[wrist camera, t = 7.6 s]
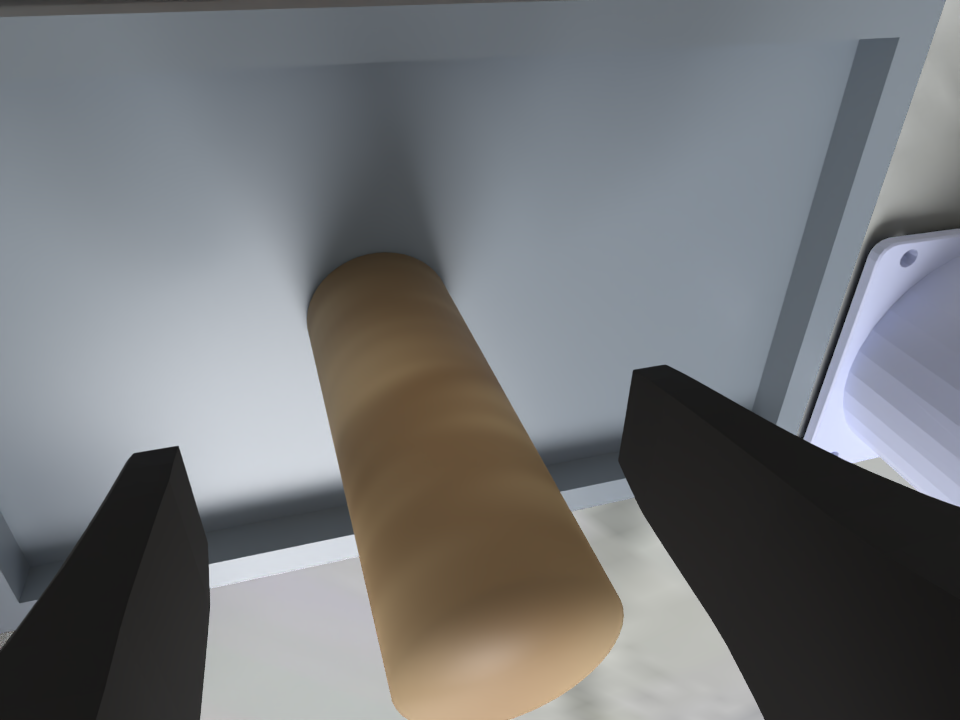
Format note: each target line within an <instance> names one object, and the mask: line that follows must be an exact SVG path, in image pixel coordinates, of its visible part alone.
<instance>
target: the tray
mask: <svg viewBox="0 0 960 720" xmlns="http://www.w3.org/2000/svg"><path fill="white" fill-rule="evenodd" d="M945 1H946V0H0V634H1V633H5V632H10V631H15V630H16V629H17V627H18V626H19V625H20V623H21V622H22V621H23V619H24V618H25V617H26V615H27V614H28V612H29V611H30V610H31V608H32V607H33V606H34V604H35V603H36V602H37V600H38V599H39V598H40V596H41V595H42V593H43V592H44V591H45V589H46V588H47V587H48V585H49V584H50V582H51V581H52V580H53V578H54V577H55V575H56V574H57V572H58V571H59V569H60V568H61V566H62V565H63V563H64V562H65V560H66V559H67V557H68V556H69V554H70V553H71V551H72V550H73V548H74V547H75V545H76V543H77V542H78V540H79V539H80V537H81V536H82V534H83V533H84V531H85V530H86V528H87V527H88V525H89V523H90V522H91V520H92V519H93V517H94V515H95V514H96V512H97V510H98V509H99V507H100V506H101V504H102V502H103V501H104V499H105V497H106V496H107V494H108V492H109V491H110V489H111V487H112V485H113V484H114V482H115V480H116V479H117V477H118V475H119V473H120V472H121V470H122V468H123V467H124V465H125V463H126V461H127V460H128V459H129V458H130V457H131V455H132V454H133V453H137V452H143V451H149V450H155V449H161V448H167V447H173V446H179V448H180V452H181V455H182V458H183V462H184V465H185V468H186V472H187V475H188V478H189V482H190V485H191V488H192V492H193V495H194V498H195V502H196V505H197V508H198V512H199V515H200V518H201V522H202V525H203V528H204V532H205V535H206V538H207V542H208V558H209V586H210V589H211V588H215V587H220V586H225V585H229V584H234V583H239V582H243V581H248V580H253V579H257V578H262V577H267V576H271V575H276V574H281V573H285V572H290V571H295V570H299V569H304V568H309V567H313V566H318V565H323V564H327V563H332V562H337V561H341V560H346V559H351V558H355V557H359V553H358V549H357V544H356V540H355V536H354V531H353V527H352V522H351V518H350V514H349V509H348V505H347V500H346V496H345V492H344V487H343V483H342V479H341V474H340V470H339V465H338V461H337V457H336V452H335V448H334V443H333V439H332V435H331V430H330V426H329V421H328V417H327V413H326V408H325V404H324V400H323V395H322V391H321V386H320V382H319V378H318V373H317V369H316V364H315V360H314V356H313V351H312V347H311V342H310V338H309V334H308V329H307V313H308V308H309V304H310V301H311V299H312V297H313V294H314V293H315V291H316V289H317V288H318V286H319V285H320V284H321V282H322V281H323V280H324V279H325V278H326V277H327V276H328V275H329V274H330V273H331V272H332V271H334V270H335V269H336V268H338V267H339V266H341V265H342V264H344V263H346V262H348V261H350V260H352V259H355V258H357V257H360V256H364V255H367V254H373V253H383V252H389V253H399V254H405V255H408V256H411V257H414V258H416V259H418V260H420V261H422V262H424V263H425V264H427V265H428V266H429V267H430V268H432V269H433V270H434V271H435V272H436V273H437V275H438V276H439V277H440V278H441V280H442V282H443V283H444V285H445V287H446V289H447V290H448V292H449V294H450V296H451V298H452V299H453V301H454V303H455V305H456V306H457V308H458V310H459V312H460V314H461V315H462V317H463V319H464V321H465V323H466V324H467V326H468V328H469V330H470V332H471V333H472V335H473V337H474V339H475V340H476V342H477V344H478V346H479V348H480V349H481V351H482V353H483V355H484V357H485V358H486V360H487V362H488V364H489V366H490V367H491V369H492V371H493V373H494V374H495V376H496V378H497V380H498V382H499V383H500V385H501V387H502V389H503V391H504V392H505V394H506V396H507V398H508V399H509V401H510V403H511V405H512V407H513V408H514V410H515V412H516V414H517V416H518V417H519V419H520V421H521V423H522V425H523V426H524V428H525V430H526V432H527V433H528V435H529V437H530V439H531V441H532V442H533V444H534V446H535V448H536V450H537V451H538V453H539V455H540V457H541V459H542V460H543V462H544V464H545V466H546V467H547V469H548V471H549V473H550V475H551V476H552V478H553V480H554V482H555V484H556V485H557V487H558V489H559V491H560V493H561V494H562V496H563V498H564V500H565V501H566V503H567V505H568V507H569V509H570V510H571V511H575V510H579V509H584V508H589V507H593V506H598V505H603V504H607V503H612V502H617V501H621V500H626V499H631V498H635V497H634V495H633V493H632V491H631V489H630V487H629V484H628V482H627V480H626V478H625V475H624V473H623V471H622V469H621V467H620V464H619V462H618V458H619V452H620V446H621V440H622V434H623V428H624V421H625V415H626V409H627V403H628V397H629V391H630V385H631V378H632V372H633V370H635V369H641V368H647V367H653V366H659V365H665V364H666V365H668V366H670V367H672V368H674V369H676V370H678V371H680V372H682V373H684V374H686V375H688V376H690V377H691V378H693V379H695V380H697V381H699V382H700V383H702V384H704V385H706V386H708V387H709V388H711V389H713V390H715V391H716V392H718V393H720V394H722V395H723V396H725V397H727V398H729V399H731V400H732V401H734V402H736V403H738V404H739V405H741V406H743V407H745V408H746V409H748V410H750V411H752V412H754V413H755V414H757V415H759V416H761V417H763V418H764V419H766V420H768V421H770V422H772V423H773V424H775V425H777V426H779V427H781V428H783V429H785V430H786V431H788V432H790V433H792V434H794V435H797V432H798V429H799V426H800V423H801V420H802V417H803V414H804V411H805V409H806V406H807V403H808V400H809V397H810V394H811V391H812V388H813V385H814V382H815V379H816V377H817V374H818V371H819V368H820V365H821V362H822V359H823V356H824V353H825V350H826V347H827V345H828V342H829V339H830V336H831V333H832V330H833V327H834V324H835V321H836V318H837V315H838V313H839V310H840V307H841V304H842V301H843V298H844V295H845V292H846V289H847V286H848V283H849V281H850V278H851V275H852V272H853V269H854V266H855V263H856V260H857V257H858V254H859V251H860V248H861V246H862V243H863V240H864V237H865V234H866V231H867V228H868V225H869V222H870V219H871V216H872V214H873V211H874V208H875V205H876V202H877V199H878V196H879V193H880V190H881V187H882V184H883V182H884V179H885V176H886V173H887V170H888V167H889V164H890V161H891V158H892V155H893V152H894V150H895V147H896V144H897V141H898V138H899V135H900V132H901V129H902V126H903V123H904V120H905V118H906V115H907V112H908V109H909V106H910V103H911V100H912V97H913V94H914V91H915V88H916V85H917V83H918V80H919V77H920V74H921V71H922V68H923V65H924V62H925V59H926V56H927V53H928V51H929V48H930V45H931V42H932V39H933V36H934V33H935V30H936V27H937V24H938V21H939V19H940V16H941V13H942V10H943V7H944V4H945Z"/></svg>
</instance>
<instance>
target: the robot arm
mask: <svg viewBox="0 0 960 720" xmlns="http://www.w3.org/2000/svg"><path fill="white" fill-rule="evenodd" d="M877 457H881V458H882V459H883V460H884V461H885V462H886V463H887V464H888V465H890V466H891V467H892V468H893V469H894V470H895V471H896V472H897V473H898V474H900V475H901V476H902V477H903V478H904V479H905V480H906V481H907V482H909V483H910V484H911V485H912V486H913V487H914V488H915V489H916V490H917V491H915V490H913V489H911V488H908V487H906V486H903V485H901V484H899V483H896V482H894V481H891V480H889V479H887V478H884V477H882V476H879V475H877V474H875V473H872V472H870V471H868V470H866V469H863V468H861V467H859V466H857V465H855V464H852V463H854V462H859V461H863V460H868V459H873V458H877ZM618 462H619V464H620V467H621V469H622V471H623V473H624V475H625V478H626V480H627V482H628V484H629V487H630V489H631V491H632V493H633V495H634V497H635V499H636V501H637V503H638V505H639V507H640V509H641V511H642V513H643V514H644V516H645V518H646V519H647V521H648V523H649V524H650V526H651V527H652V529H653V530H654V532H655V533H656V535H657V537H658V538H659V540H660V541H661V543H662V544H663V546H664V548H665V549H666V551H667V552H668V554H669V555H670V557H671V558H672V560H673V561H674V563H675V564H676V566H677V567H678V569H679V570H680V572H681V574H682V575H683V577H684V578H685V580H686V581H687V583H688V584H689V586H690V587H691V589H692V590H693V592H694V593H695V595H696V596H697V598H698V599H699V601H700V603H701V604H702V606H703V607H704V609H705V610H706V612H707V613H708V615H709V616H710V618H711V619H712V621H713V623H714V624H715V626H716V628H717V629H718V631H719V633H720V634H721V636H722V638H723V639H724V641H725V643H726V645H727V646H728V648H729V650H730V652H731V654H732V656H733V658H734V660H735V662H736V664H737V666H738V668H739V669H740V671H741V673H742V675H743V677H744V679H745V681H746V683H747V685H748V687H749V689H750V691H751V693H752V695H753V696H754V698H755V700H756V703H757V705H758V707H759V709H760V711H761V713H762V715H763V717H764V719H765V720H960V228H959V229H951V230H943V231H935V232H928V233H920V234H912V235H905V236H897V237H890V238H887V239H884V240H882V241H880V242H879V243H877V244H876V245H875V246H874V247H873V248H872V250H871V251H870V253H869V255H868V258H867V260H866V263H865V266H864V269H863V272H862V275H861V277H860V280H859V283H858V286H857V289H856V292H855V294H854V297H853V300H852V303H851V306H850V309H849V311H848V314H847V317H846V320H845V323H844V326H843V329H842V331H841V334H840V337H839V340H838V343H837V346H836V348H835V351H834V354H833V357H832V360H831V363H830V365H829V368H828V371H827V374H826V377H825V380H824V382H823V385H822V388H821V391H820V394H819V397H818V399H817V402H816V405H815V408H814V411H813V414H812V416H811V419H810V422H809V425H808V428H807V431H806V433H805V436H804V439H802V438H800V437H798V436H796V435H794V434H792V433H790V432H788V431H786V430H785V429H783V428H781V427H779V426H777V425H775V424H773V423H772V422H770V421H768V420H766V419H764V418H763V417H761V416H759V415H757V414H755V413H754V412H752V411H750V410H748V409H746V408H745V407H743V406H741V405H739V404H738V403H736V402H734V401H732V400H731V399H729V398H727V397H725V396H723V395H722V394H720V393H718V392H716V391H715V390H713V389H711V388H709V387H708V386H706V385H704V384H702V383H700V382H699V381H697V380H695V379H693V378H691V377H690V376H688V375H686V374H684V373H682V372H680V371H678V370H676V369H674V368H672V367H670V366H668V365H666V364H665V365H659V366H653V367H647V368H641V369H635V370H633V372H632V378H631V385H630V391H629V397H628V403H627V409H626V415H625V421H624V428H623V434H622V440H621V446H620V452H619V458H618ZM918 491H919V492H918ZM209 613H210V586H209V558H208V542H207V538H206V535H205V532H204V528H203V525H202V522H201V518H200V515H199V512H198V508H197V505H196V502H195V498H194V495H193V492H192V488H191V485H190V482H189V478H188V475H187V472H186V468H185V465H184V462H183V458H182V455H181V452H180V448H179V446H173V447H167V448H161V449H155V450H149V451H143V452H137V453H133V454H132V455H131V457H130V458H129V459H128V460H127V461H126V463H125V465H124V467H123V468H122V470H121V472H120V473H119V475H118V477H117V479H116V480H115V482H114V484H113V485H112V487H111V489H110V491H109V492H108V494H107V496H106V497H105V499H104V501H103V502H102V504H101V506H100V507H99V509H98V510H97V512H96V514H95V515H94V517H93V519H92V520H91V522H90V523H89V525H88V527H87V528H86V530H85V531H84V533H83V534H82V536H81V537H80V539H79V540H78V542H77V543H76V545H75V547H74V548H73V550H72V551H71V553H70V554H69V556H68V557H67V559H66V560H65V562H64V563H63V565H62V566H61V568H60V569H59V571H58V572H57V574H56V575H55V577H54V578H53V580H52V581H51V582H50V584H49V585H48V587H47V588H46V589H45V591H44V592H43V593H42V595H41V596H40V598H39V599H38V600H37V602H36V603H35V604H34V606H33V607H32V608H31V610H30V611H29V612H28V614H27V615H26V617H25V618H24V619H23V621H22V622H21V623H20V625H19V626H18V627H17V629H16V630H15V632H14V633H13V634H12V636H11V637H10V638H9V639H8V641H7V642H6V643H5V645H4V646H3V647H2V648H1V650H0V720H200V713H201V703H202V692H203V681H204V670H205V659H206V648H207V637H208V625H209Z"/></svg>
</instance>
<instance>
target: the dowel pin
mask: <svg viewBox="0 0 960 720" xmlns="http://www.w3.org/2000/svg"><path fill="white" fill-rule="evenodd" d="M307 329H308V334H309V338H310V342H311V347H312V351H313V356H314V360H315V364H316V369H317V373H318V378H319V382H320V386H321V391H322V395H323V400H324V404H325V408H326V413H327V417H328V421H329V426H330V430H331V435H332V439H333V443H334V448H335V452H336V457H337V461H338V465H339V470H340V474H341V479H342V483H343V487H344V492H345V496H346V500H347V505H348V509H349V514H350V518H351V522H352V527H353V531H354V536H355V540H356V544H357V549H358V553H359V558H360V562H361V566H362V571H363V575H364V579H365V584H366V588H367V593H368V597H369V601H370V606H371V610H372V615H373V619H374V623H375V628H376V632H377V637H378V641H379V645H380V650H381V654H382V658H383V663H384V667H385V672H386V676H387V680H388V685H389V689H390V694H391V698H392V702H393V704H394V706H395V708H396V709H397V710H398V711H399V713H400V714H401V715H402V716H404V717H405V718H406V719H408V720H509V719H512V718H515V717H518V716H521V715H523V714H525V713H528V712H530V711H532V710H535V709H537V708H539V707H541V706H543V705H545V704H547V703H549V702H550V701H552V700H554V699H556V698H557V697H559V696H561V695H562V694H564V693H565V692H567V691H568V690H570V689H571V688H573V687H574V686H575V685H577V684H578V683H579V682H581V681H582V680H583V679H584V678H585V677H586V676H588V675H589V674H590V673H591V672H592V671H593V670H594V669H595V668H596V667H597V666H598V665H599V664H600V663H601V662H602V661H603V659H604V658H605V657H606V656H607V654H608V653H609V652H610V650H611V649H612V647H613V646H614V644H615V642H616V640H617V638H618V636H619V634H620V631H621V628H622V624H623V617H624V614H623V606H622V603H621V600H620V598H619V596H618V595H617V593H616V591H615V589H614V587H613V586H612V584H611V582H610V580H609V578H608V577H607V575H606V573H605V571H604V569H603V568H602V566H601V564H600V562H599V561H598V559H597V557H596V555H595V553H594V552H593V550H592V548H591V546H590V544H589V543H588V541H587V539H586V537H585V535H584V534H583V532H582V530H581V528H580V527H579V525H578V523H577V521H576V519H575V518H574V516H573V514H572V512H571V510H570V509H569V507H568V505H567V503H566V501H565V500H564V498H563V496H562V494H561V493H560V491H559V489H558V487H557V485H556V484H555V482H554V480H553V478H552V476H551V475H550V473H549V471H548V469H547V467H546V466H545V464H544V462H543V460H542V459H541V457H540V455H539V453H538V451H537V450H536V448H535V446H534V444H533V442H532V441H531V439H530V437H529V435H528V433H527V432H526V430H525V428H524V426H523V425H522V423H521V421H520V419H519V417H518V416H517V414H516V412H515V410H514V408H513V407H512V405H511V403H510V401H509V399H508V398H507V396H506V394H505V392H504V391H503V389H502V387H501V385H500V383H499V382H498V380H497V378H496V376H495V374H494V373H493V371H492V369H491V367H490V366H489V364H488V362H487V360H486V358H485V357H484V355H483V353H482V351H481V349H480V348H479V346H478V344H477V342H476V340H475V339H474V337H473V335H472V333H471V332H470V330H469V328H468V326H467V324H466V323H465V321H464V319H463V317H462V315H461V314H460V312H459V310H458V308H457V306H456V305H455V303H454V301H453V299H452V298H451V296H450V294H449V292H448V290H447V289H446V287H445V285H444V283H443V282H442V280H441V278H440V277H439V276H438V275H437V273H436V272H435V271H434V270H433V269H432V268H430V267H429V266H428V265H427V264H425V263H424V262H422V261H420V260H418V259H416V258H414V257H411V256H408V255H405V254H399V253H389V252H383V253H373V254H367V255H364V256H360V257H357V258H355V259H352V260H350V261H348V262H346V263H344V264H342V265H341V266H339V267H338V268H336V269H335V270H334V271H332V272H331V273H330V274H329V275H328V276H327V277H326V278H325V279H324V280H323V281H322V282H321V284H320V285H319V286H318V288H317V289H316V291H315V293H314V294H313V297H312V299H311V301H310V304H309V308H308V313H307Z"/></svg>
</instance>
